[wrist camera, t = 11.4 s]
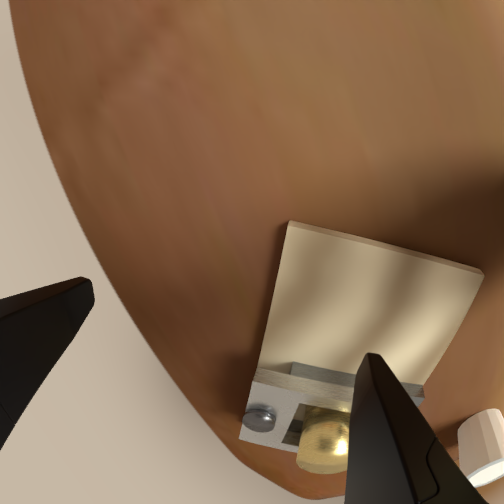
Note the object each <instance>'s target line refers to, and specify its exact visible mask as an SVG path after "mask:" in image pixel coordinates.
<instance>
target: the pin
mask: <svg viewBox="0 0 504 504" xmlns="http://www.w3.org/2000/svg"><path fill="white" fill-rule="evenodd" d="M350 414H351V413H350V412H344V411H338V410H333V409H327V408H322V407H317V406H312V405H307V404H306V408H305V414H304V420H303V426H302V432H301V438H300V443H299V449H298V454H297V460H296V462H297V464H298V466H299V467H301V468H302V469H304V470H306V471H309V472H312V473H318V474H333V473H339V472H342V471H345V470H347V464H348V444H349V422H350Z"/></svg>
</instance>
